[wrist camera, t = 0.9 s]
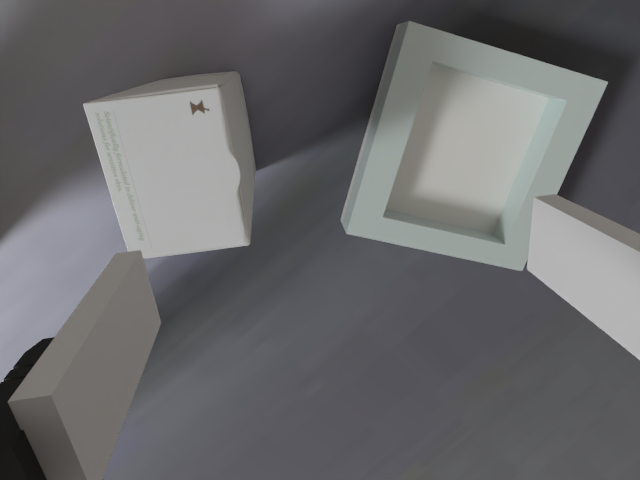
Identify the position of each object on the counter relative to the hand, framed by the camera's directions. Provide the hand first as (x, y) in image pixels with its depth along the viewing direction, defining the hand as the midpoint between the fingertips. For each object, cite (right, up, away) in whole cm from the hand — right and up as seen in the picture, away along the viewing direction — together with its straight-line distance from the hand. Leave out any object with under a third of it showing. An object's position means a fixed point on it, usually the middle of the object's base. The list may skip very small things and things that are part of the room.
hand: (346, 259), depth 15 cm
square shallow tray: (+11, +8, +23) cm, 27 cm away
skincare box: (-9, +10, +21) cm, 25 cm away
